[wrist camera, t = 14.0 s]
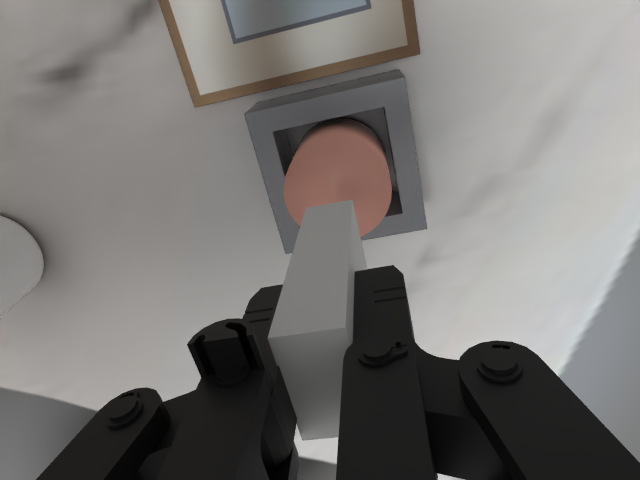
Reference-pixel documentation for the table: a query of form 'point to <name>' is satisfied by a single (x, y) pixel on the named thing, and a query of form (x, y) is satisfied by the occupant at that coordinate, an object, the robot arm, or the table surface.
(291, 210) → the button
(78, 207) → the table surface
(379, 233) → the button housing
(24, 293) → the drinking glass
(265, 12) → the picture frame
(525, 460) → the robot arm
